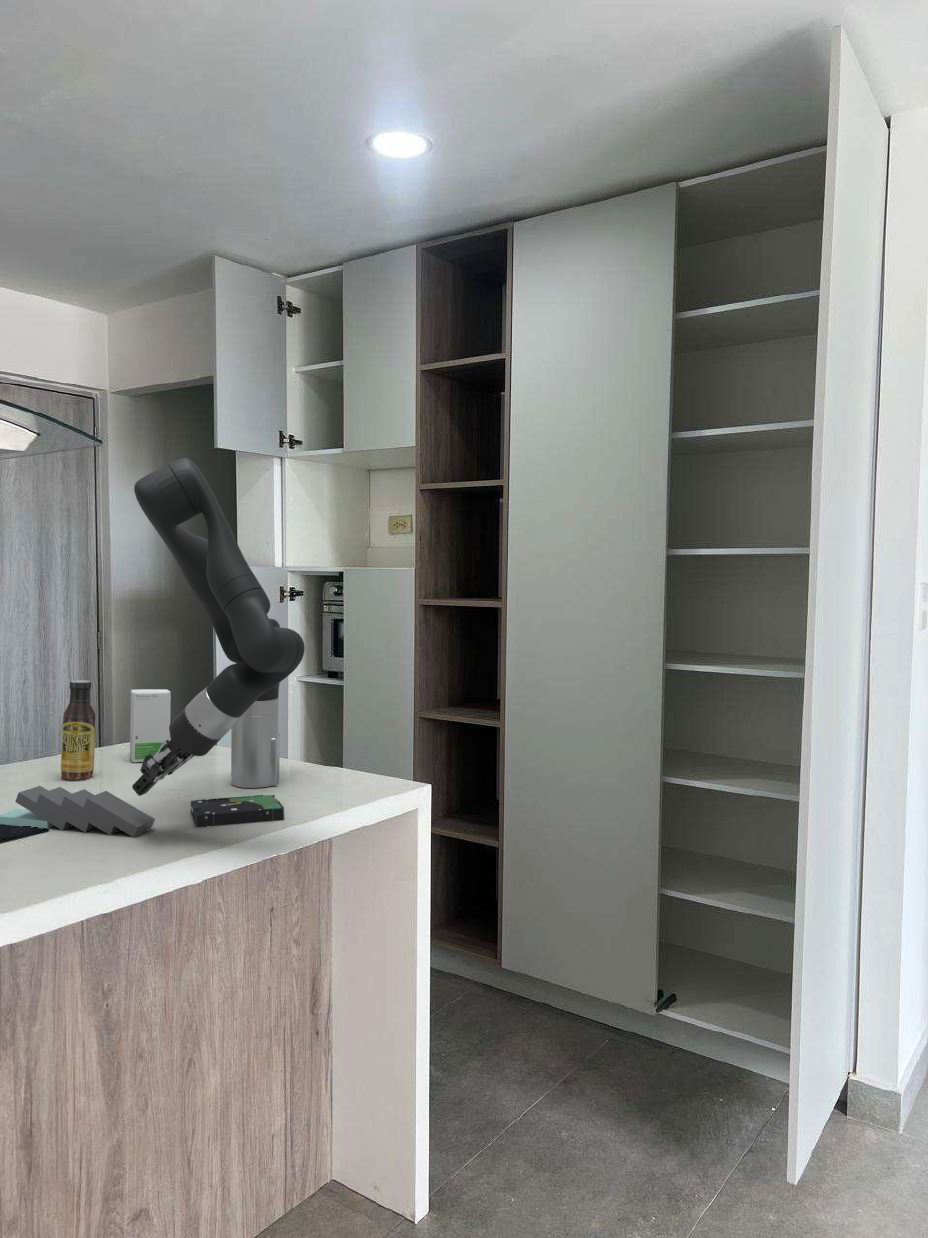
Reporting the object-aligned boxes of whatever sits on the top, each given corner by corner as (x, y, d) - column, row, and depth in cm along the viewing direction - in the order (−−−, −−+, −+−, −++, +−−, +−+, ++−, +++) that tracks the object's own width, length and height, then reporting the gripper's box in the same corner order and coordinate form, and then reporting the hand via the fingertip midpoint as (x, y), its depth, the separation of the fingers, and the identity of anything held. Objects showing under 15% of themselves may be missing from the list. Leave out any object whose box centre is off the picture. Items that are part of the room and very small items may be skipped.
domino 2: (86, 813, 153) (40, 785, 156) (66, 821, 149) (18, 792, 151) (82, 822, 154) (36, 794, 156) (62, 830, 149) (15, 802, 151)
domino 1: (67, 813, 154) (17, 808, 157) (47, 821, 150) (-5, 816, 152) (67, 824, 154) (17, 819, 157) (47, 832, 150) (-4, 826, 152)
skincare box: (131, 763, 200) (131, 693, 199) (129, 757, 206) (128, 689, 205) (171, 760, 203) (171, 691, 202) (167, 755, 209) (167, 687, 208)
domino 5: (155, 819, 150) (106, 790, 152) (137, 827, 145) (87, 798, 147) (151, 828, 151) (102, 800, 152) (133, 837, 146) (83, 807, 148)
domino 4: (132, 817, 151) (84, 789, 153) (114, 825, 146) (64, 796, 148) (128, 826, 152) (80, 798, 154) (110, 835, 147) (60, 806, 149)
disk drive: (196, 831, 152) (285, 822, 157) (196, 815, 151) (285, 806, 157) (189, 815, 161) (273, 807, 167) (189, 800, 161) (273, 792, 167)
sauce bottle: (57, 782, 182) (56, 682, 181) (65, 774, 188) (64, 679, 187) (91, 781, 183) (91, 682, 182) (98, 774, 189) (98, 678, 188)
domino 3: (107, 814, 152) (60, 786, 154) (88, 822, 148) (39, 794, 149) (104, 823, 153) (56, 796, 155) (84, 832, 148) (36, 803, 150)
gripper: (199, 745, 137) (128, 819, 141) (241, 730, 150) (175, 798, 154) (167, 708, 138) (97, 782, 142) (212, 697, 151) (147, 765, 155)
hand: (138, 790), depth 148 cm, fingers closed
